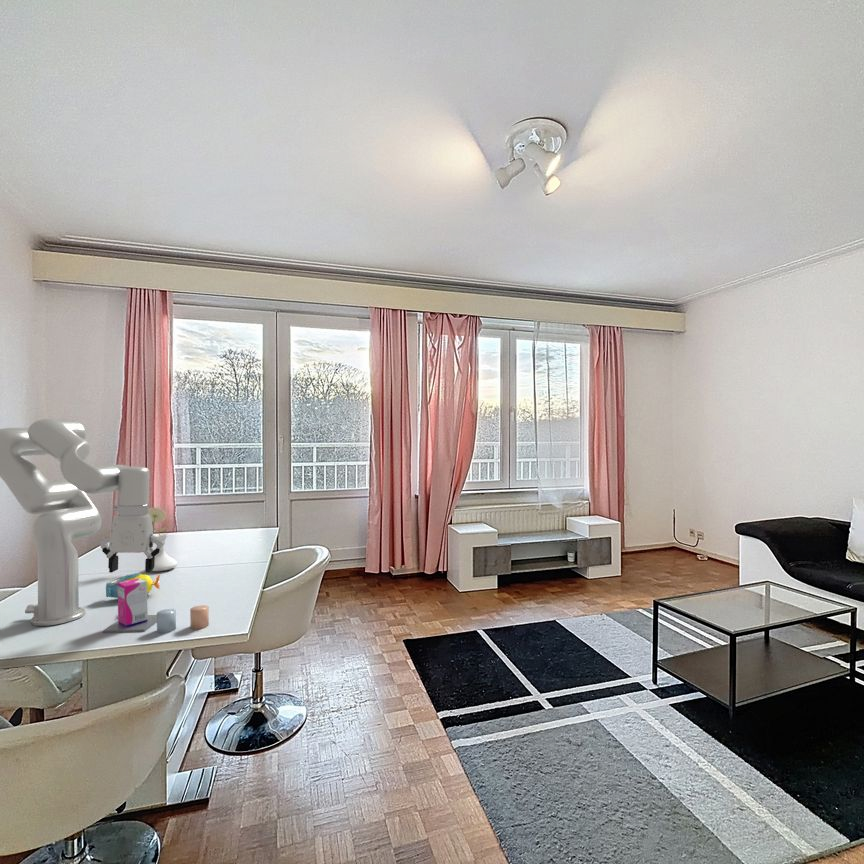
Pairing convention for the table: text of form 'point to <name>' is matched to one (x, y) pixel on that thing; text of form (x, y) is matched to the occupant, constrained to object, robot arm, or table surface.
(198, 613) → the peach dome cap
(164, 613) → the pale blue dome knob
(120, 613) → the supplement box
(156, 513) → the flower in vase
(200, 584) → the table surface
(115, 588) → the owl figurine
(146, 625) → the coaster
